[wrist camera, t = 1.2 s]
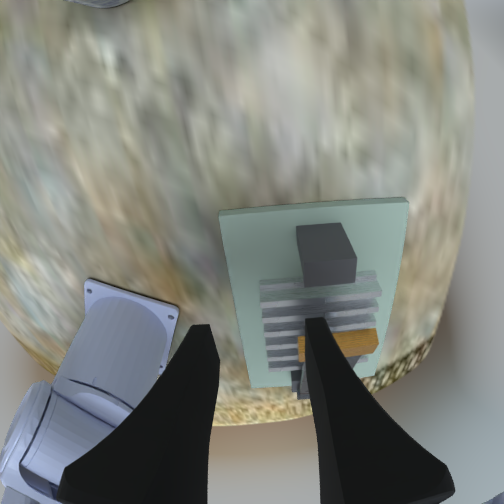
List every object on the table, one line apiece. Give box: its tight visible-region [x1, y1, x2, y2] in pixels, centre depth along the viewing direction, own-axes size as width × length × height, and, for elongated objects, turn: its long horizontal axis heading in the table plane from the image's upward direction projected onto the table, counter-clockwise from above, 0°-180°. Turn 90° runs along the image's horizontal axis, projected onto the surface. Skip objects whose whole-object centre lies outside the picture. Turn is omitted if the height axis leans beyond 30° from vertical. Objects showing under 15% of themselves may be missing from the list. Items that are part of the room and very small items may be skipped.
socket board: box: [218, 197, 409, 392], centre depth 22 cm, size 18×12×5 cm, turn 6°
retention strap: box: [297, 328, 379, 400], centre depth 20 cm, size 13×4×1 cm, turn 7°
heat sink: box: [260, 270, 382, 372], centre depth 23 cm, size 8×8×2 cm
